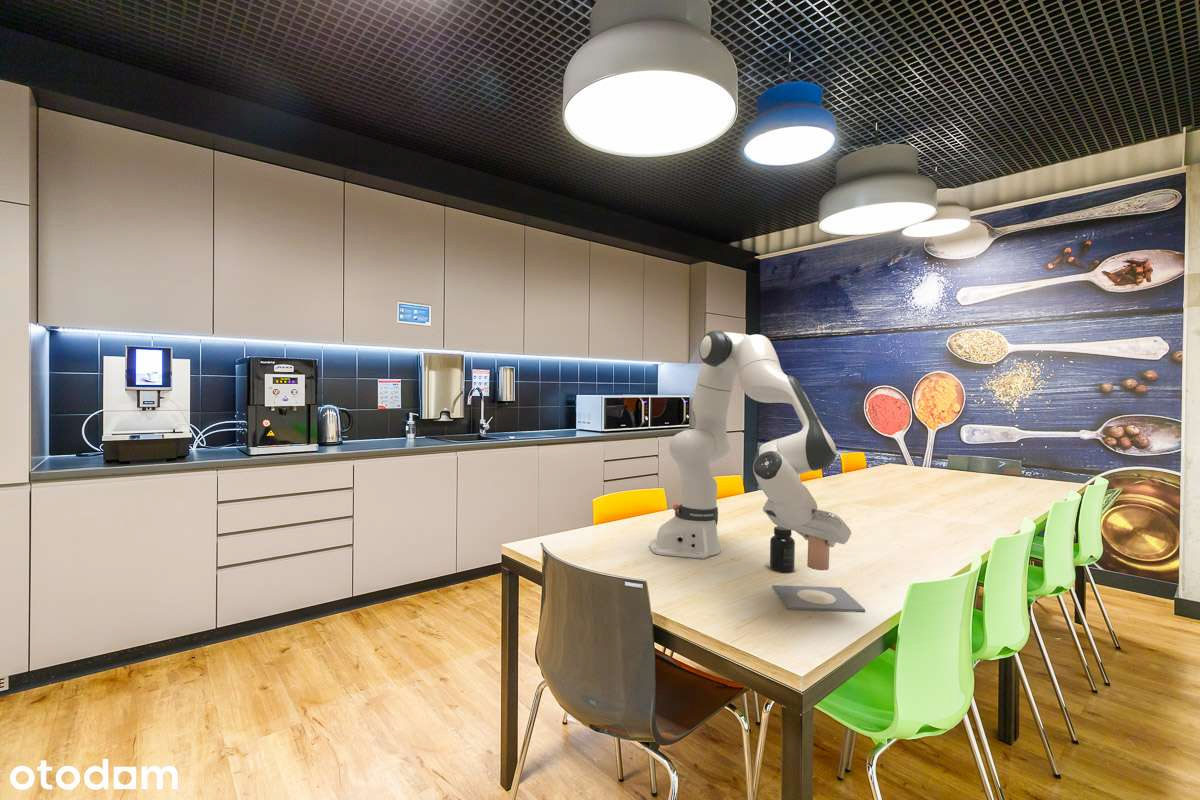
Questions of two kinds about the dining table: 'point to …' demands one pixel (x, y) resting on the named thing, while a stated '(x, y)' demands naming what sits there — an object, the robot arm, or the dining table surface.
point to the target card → (816, 598)
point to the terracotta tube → (818, 553)
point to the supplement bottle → (782, 550)
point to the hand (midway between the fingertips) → (820, 541)
